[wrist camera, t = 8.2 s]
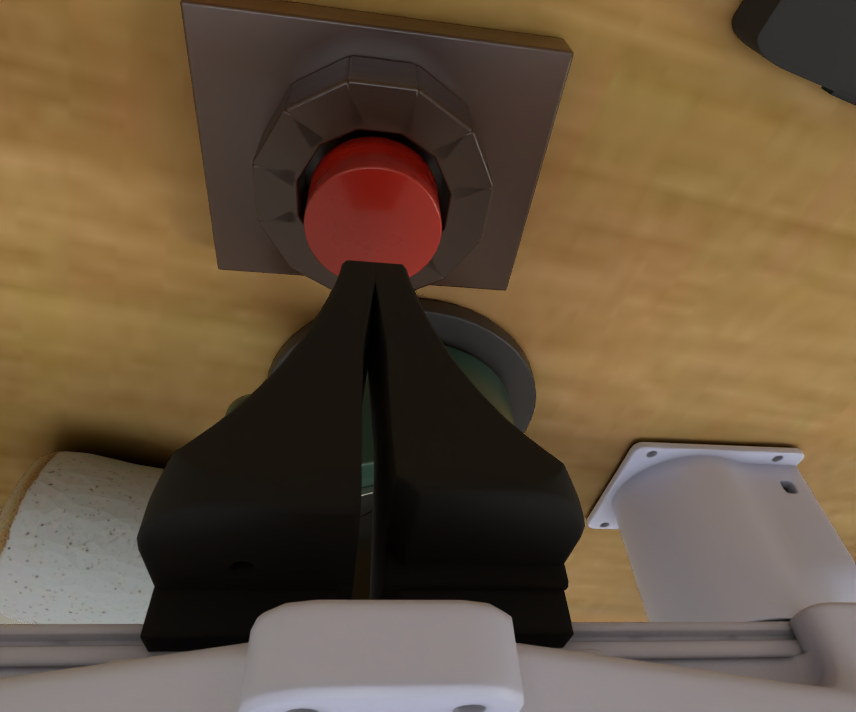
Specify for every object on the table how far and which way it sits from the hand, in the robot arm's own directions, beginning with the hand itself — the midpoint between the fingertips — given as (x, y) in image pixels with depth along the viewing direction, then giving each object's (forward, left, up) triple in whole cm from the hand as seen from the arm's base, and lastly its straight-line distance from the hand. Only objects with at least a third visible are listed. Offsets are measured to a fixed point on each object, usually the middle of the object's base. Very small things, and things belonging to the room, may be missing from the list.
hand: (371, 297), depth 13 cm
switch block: (0, 0, -7) cm, 7 cm away
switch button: (0, 0, -5) cm, 5 cm away
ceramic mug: (+11, +20, -7) cm, 24 cm away
